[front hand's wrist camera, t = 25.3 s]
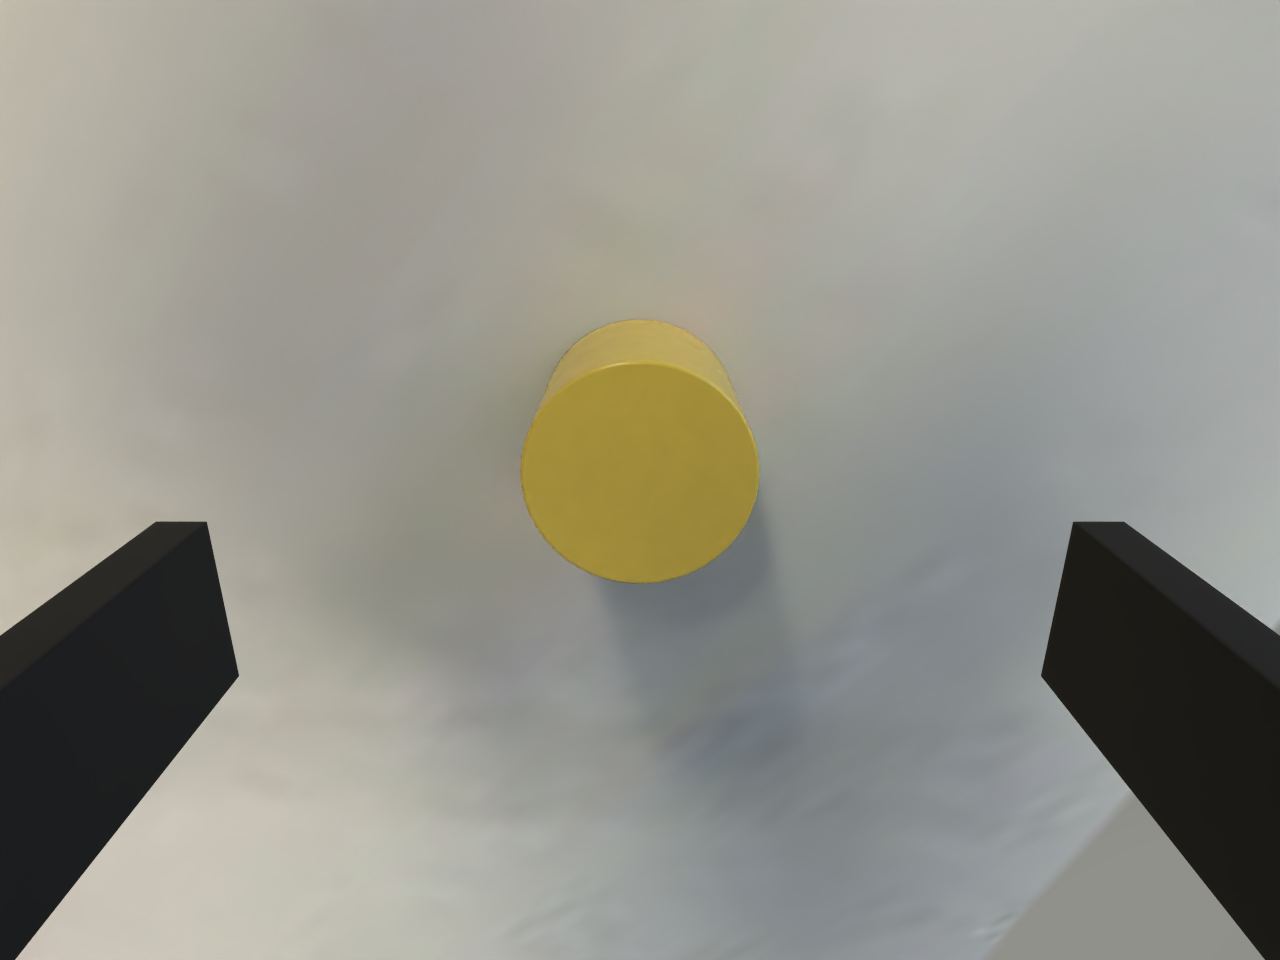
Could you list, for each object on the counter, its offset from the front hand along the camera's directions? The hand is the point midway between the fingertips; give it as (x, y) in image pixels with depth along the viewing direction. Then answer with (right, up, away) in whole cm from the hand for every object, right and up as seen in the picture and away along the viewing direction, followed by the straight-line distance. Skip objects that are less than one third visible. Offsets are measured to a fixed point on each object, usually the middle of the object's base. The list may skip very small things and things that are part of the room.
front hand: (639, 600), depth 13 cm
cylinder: (0, +4, +10) cm, 10 cm away
